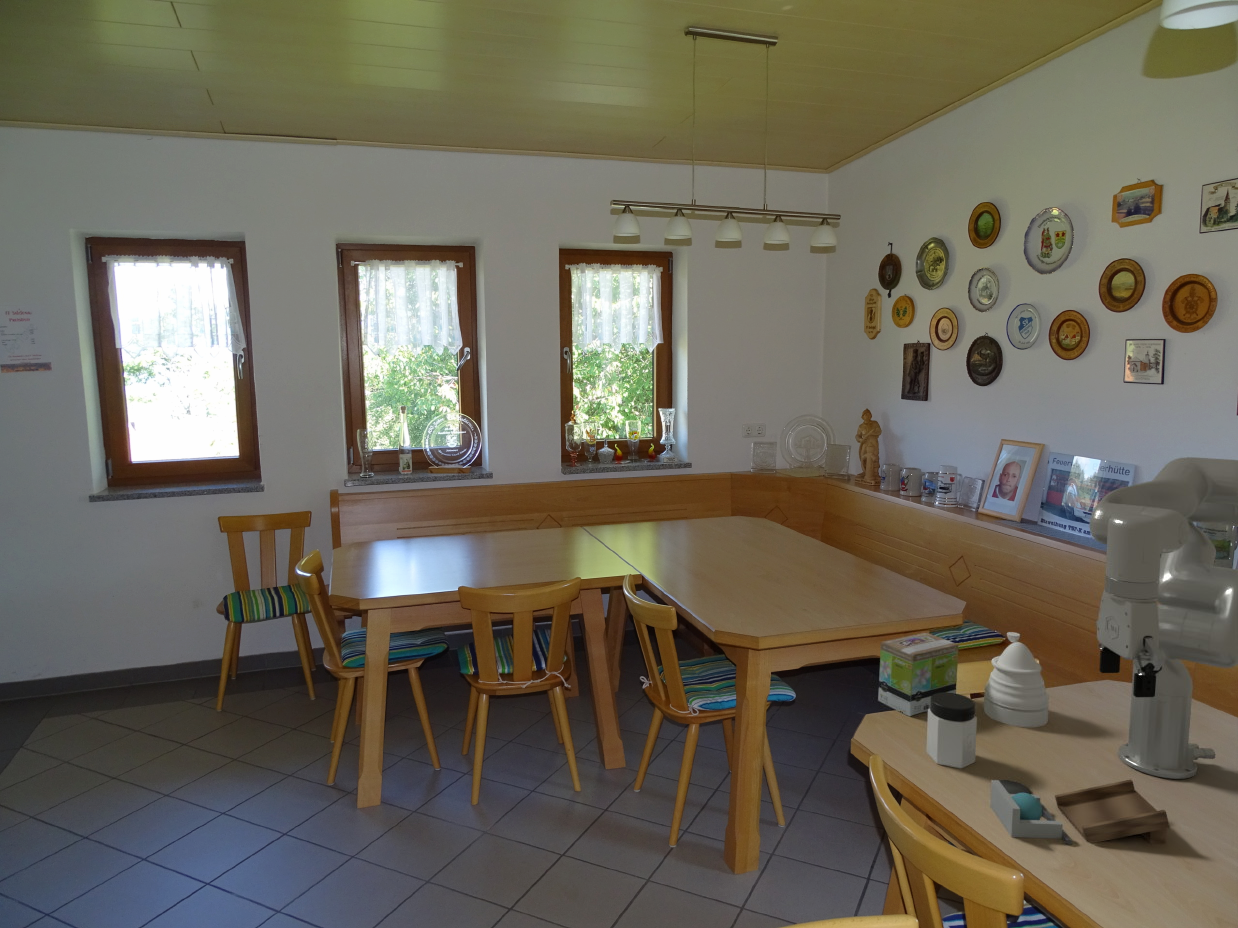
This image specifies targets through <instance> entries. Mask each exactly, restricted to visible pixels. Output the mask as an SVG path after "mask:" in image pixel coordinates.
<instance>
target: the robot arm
mask: <svg viewBox="0 0 1238 928" xmlns="http://www.w3.org/2000/svg"><path fill="white" fill-rule="evenodd" d="M1195 523H1203V524H1211V525H1221V526H1229V527H1230V526H1231V527H1238V460H1237V459H1224V458H1208V457H1192V456H1191V457H1190V456H1189V457H1179V458H1175V459H1173V460H1170V461H1169V462H1168V463H1167V464H1165V465H1164V466H1163V468H1161V470H1160V471H1159V472H1158V473H1157V475H1155V476H1154V478H1153V479H1152V480H1150V481H1145V482H1140V483H1136V484H1133V485H1129V486H1124V487H1120V488H1117V489H1114V490H1112V491H1110V492H1108V493H1107V494H1106V495H1104V496H1103V498H1102V499H1101V500H1100V501H1099V502H1098V503H1097V505H1096V506H1095V507H1094V509H1093V511H1092V513H1091V515H1090V520H1089V530H1090V531H1089V532H1090V534H1091V536H1092V537H1093V539H1094V541H1097V542H1098V543H1100V544H1103V545H1106V555H1105V556H1106V561H1105V573H1104V574H1105V575H1104V577H1105V578H1104V588H1103V592H1102V595H1101V599H1100V604H1099V609H1098V617H1097V620H1096V621H1095V624H1096V629H1097V630H1096V639H1097V640H1098V642H1099V643H1098V648H1099V650H1100V651H1099V672H1100V673H1101V674H1118V673H1120V670H1121V669H1120V668H1121V658H1123V659H1124V660H1126V661H1127V660H1128V661H1131V660H1132V682H1131V695H1130V697H1131V699H1130V711H1129V712H1130V713H1129V726H1128V728H1129V729H1128V741H1127V743H1123V744H1121V745H1119V747H1118V752H1117V753H1118V754H1117V755H1118V757H1119V758H1120V760H1121V761H1122V762H1123V763H1125V764H1126V765H1127V766H1128V767H1131V768H1132V769H1135V770H1136V771H1139V772H1142V773H1145V774H1148V775H1151V776H1154V777H1160V778H1164V779H1175V780H1180V779H1181V780H1184V779H1189V778H1191V777H1194V776H1195V775H1196V774H1197V771H1198V765H1197V764H1196V762H1195V761H1197V760H1198V759H1203V760H1213V759H1214V760H1215V759H1216V752H1215V749H1213V748H1210V747H1209V748H1208V747H1201V748H1200V746H1199V744H1198V743H1189V741H1190V728H1191V727H1190V726H1191V713H1192V700H1193V699H1192V698H1193V689H1194V687H1193V679H1192V676H1191V674H1190V672H1189V670H1188V669H1187V667H1186V666H1185V664H1184V662H1183V661H1188V662H1192V663H1196V664H1202V665H1205V666H1211V667H1216V668H1222V669H1231V668H1234V667H1236V666H1238V569H1237V568H1236V569H1235V568H1229V567H1223V566H1217V565H1214V563H1215V559H1216V557H1217V550H1216V546H1215V545H1214V543H1213V542H1212V540H1211V539H1210V538H1209V537H1208V536H1207V535H1206V534H1205V533H1204V531H1202V530H1201V529H1200V528H1199V527H1198V526H1196V525H1195Z"/></svg>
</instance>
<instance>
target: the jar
mask: <svg viewBox="0 0 1238 928" xmlns="http://www.w3.org/2000/svg"><path fill="white" fill-rule="evenodd" d="M975 705H976V703H975V702H974V701H973V699H971V698H970V697H968V696H966V695H964V694H961V693H960V694H959V693H957V692H956V693H947V692H944V693H936V694H934V695H932V696H931V701H930V709H928V711H927V722H926V723H927V725H926V726H927V729H926V754H927V755H928V756H929V757H930V758H931V759H932V760H933V761H934V762H935V763H936V764H937V765H942V766H945V767H952V768H956V769H964V768H966V767H967V766H970V765H971V764H973V763H976V751H977V750H976V746H977V724H978V717H977V716H975V714H976V706H975Z"/></svg>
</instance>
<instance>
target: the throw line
mask: <svg viewBox="0 0 1238 928" xmlns="http://www.w3.org/2000/svg"><path fill="white" fill-rule="evenodd" d="M1040 805H1041V807H1042V816H1043V817H1044V818H1045V821H1057V820H1056V819H1055V818H1054V817H1053V815H1052V814H1051V813H1050V811H1048V809H1047V808H1046V807H1045V806H1044V804H1043V803H1042V802H1041V801H1040ZM1061 840H1062V841H1063V842H1064V843H1065V845H1072V843H1073V842H1072V841H1073V840H1072V838H1071V837H1070V836H1069V834H1068V833H1067V832H1066V831H1065V830H1064V829H1063V828H1062V839H1061Z"/></svg>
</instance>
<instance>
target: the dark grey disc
mask: <svg viewBox="0 0 1238 928" xmlns="http://www.w3.org/2000/svg"><path fill="white" fill-rule="evenodd" d="M998 780H999V782H1000V783H1001V784H1002V786H1003V787H1004V788H1005V789H1006V791H1007V792H1008V793H1009V794H1017V793H1028V794H1030V795H1033V792H1032V790H1031V789H1030V788H1029V787H1028V786H1026V785H1025V784H1024V783H1022V782H1018V781H1015V780H1011V779H998Z"/></svg>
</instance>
